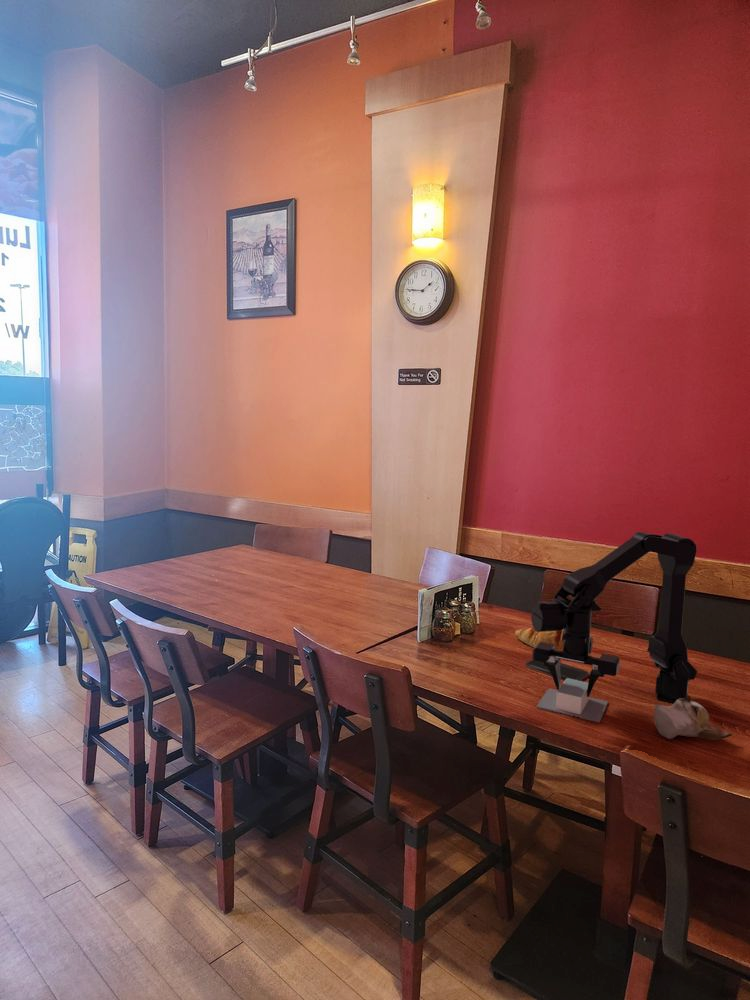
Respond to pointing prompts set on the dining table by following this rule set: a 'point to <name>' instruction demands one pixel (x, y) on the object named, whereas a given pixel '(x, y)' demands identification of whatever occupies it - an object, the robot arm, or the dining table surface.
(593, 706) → the mat
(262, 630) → the dining table surface
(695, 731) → the ceramic sculpture
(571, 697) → the card box
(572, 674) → the phone
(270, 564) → the dining table surface
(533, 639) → the croissant
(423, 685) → the dining table surface
